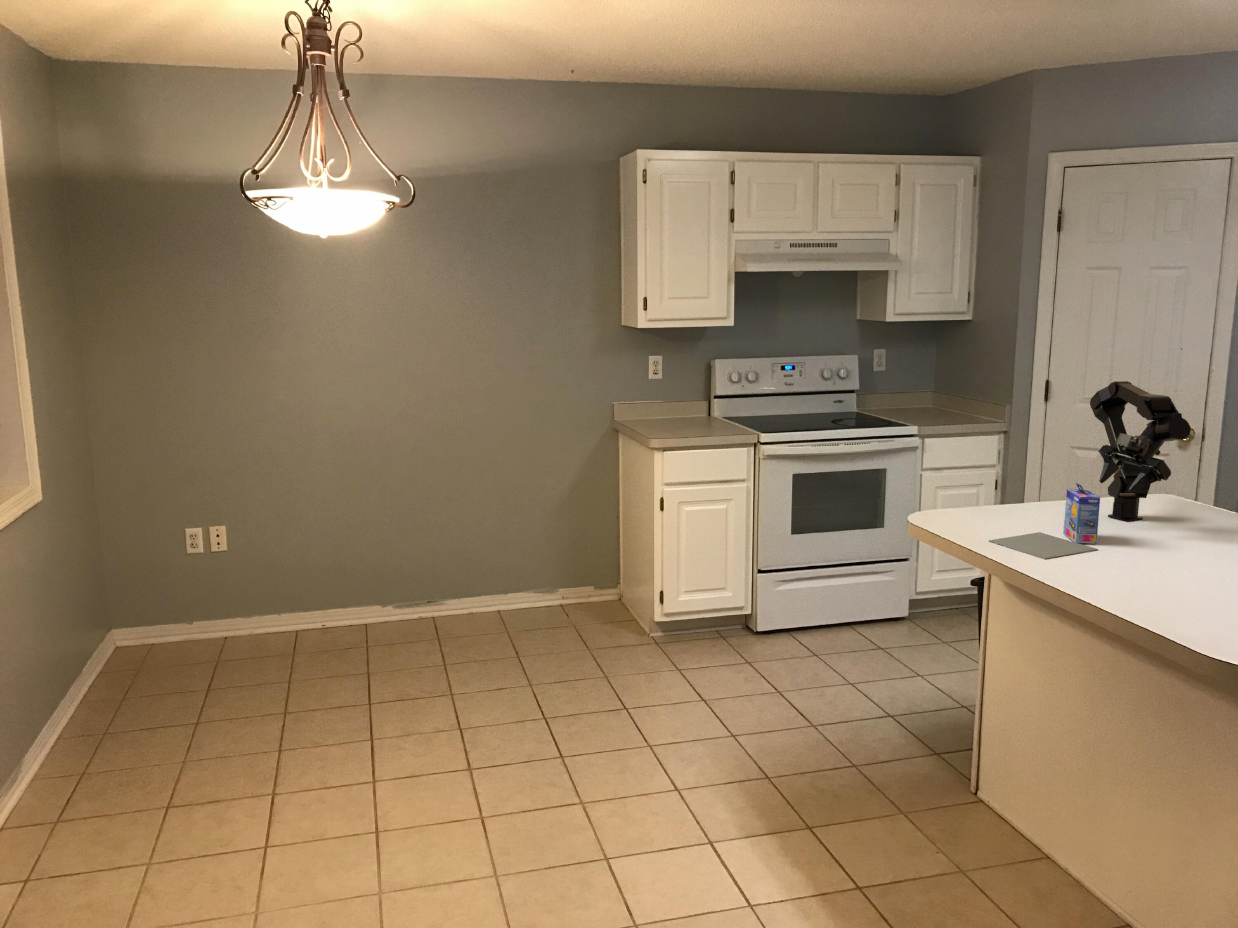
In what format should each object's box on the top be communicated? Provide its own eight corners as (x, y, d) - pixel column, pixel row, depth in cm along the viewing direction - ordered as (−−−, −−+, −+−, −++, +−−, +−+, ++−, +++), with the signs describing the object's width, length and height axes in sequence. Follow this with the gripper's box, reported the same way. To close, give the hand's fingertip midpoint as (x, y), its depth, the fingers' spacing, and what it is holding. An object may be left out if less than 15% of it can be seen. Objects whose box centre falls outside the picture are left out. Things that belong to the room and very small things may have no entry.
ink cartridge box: (1061, 533, 259) (1066, 479, 257) (1083, 534, 259) (1088, 480, 256) (1074, 543, 250) (1080, 487, 247) (1097, 544, 249) (1103, 488, 247)
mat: (1039, 533, 261) (1039, 532, 261) (1097, 550, 245) (1097, 548, 245) (988, 541, 253) (988, 540, 253) (1045, 559, 237) (1045, 558, 237)
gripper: (1107, 415, 264) (1072, 460, 263) (1168, 429, 247) (1131, 477, 246) (1125, 440, 269) (1091, 484, 268) (1187, 456, 252) (1150, 503, 251)
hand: (1114, 486), depth 258 cm, fingers open, 9 cm apart
